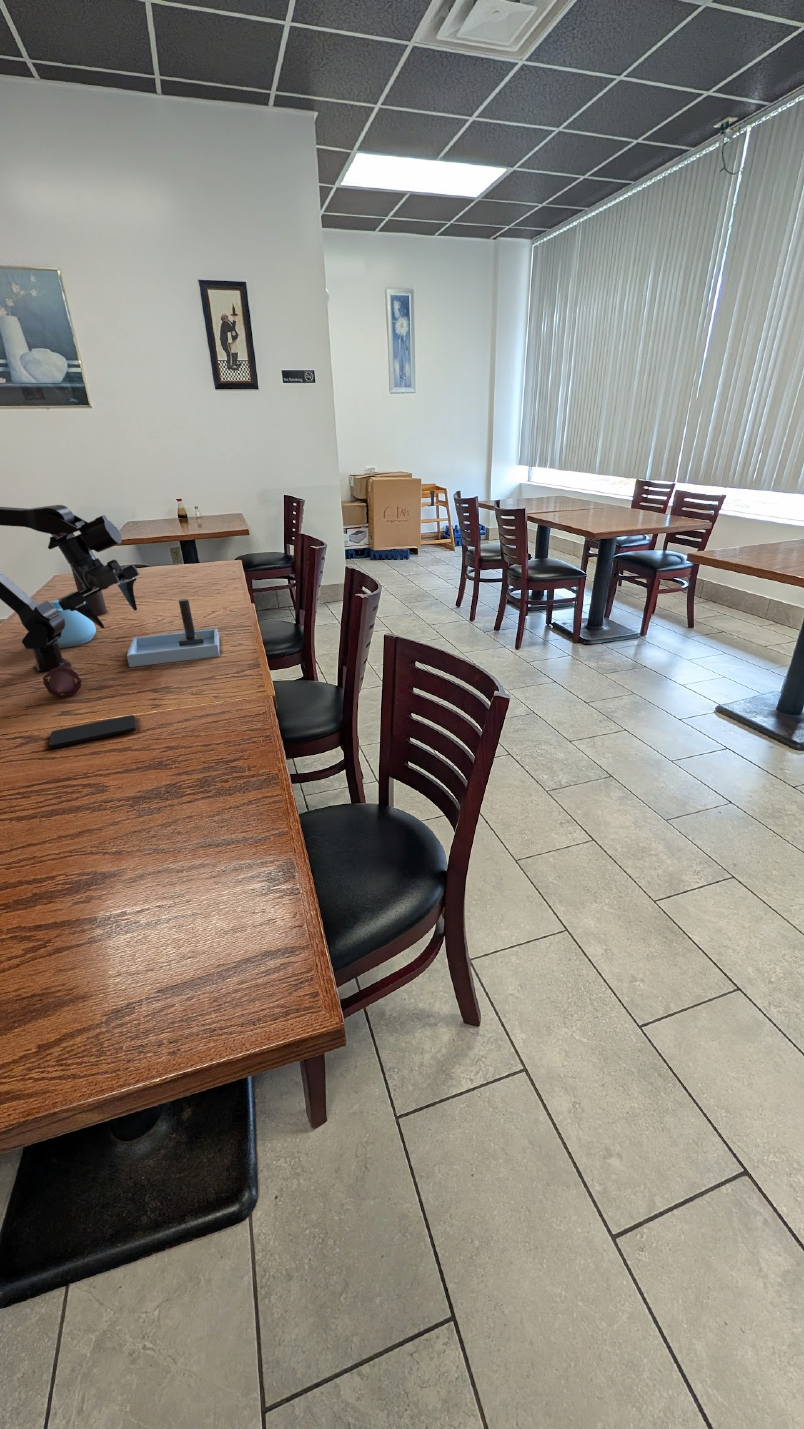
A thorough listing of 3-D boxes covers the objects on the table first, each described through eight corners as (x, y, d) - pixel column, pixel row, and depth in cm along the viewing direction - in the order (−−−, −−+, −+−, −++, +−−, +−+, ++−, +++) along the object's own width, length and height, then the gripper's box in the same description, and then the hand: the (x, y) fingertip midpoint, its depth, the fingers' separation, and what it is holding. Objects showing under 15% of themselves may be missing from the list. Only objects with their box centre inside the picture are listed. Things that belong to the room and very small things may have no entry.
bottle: (79, 616, 189) (61, 553, 180) (93, 610, 195) (76, 549, 186) (98, 616, 188) (81, 553, 179) (111, 610, 194) (95, 549, 185)
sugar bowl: (108, 637, 168) (98, 597, 163) (57, 653, 156) (44, 611, 151) (78, 629, 175) (67, 591, 170) (28, 644, 164) (14, 604, 159)
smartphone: (50, 731, 112) (134, 714, 118) (51, 734, 113) (135, 718, 118) (47, 746, 107) (136, 727, 112) (49, 750, 107) (137, 731, 113)
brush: (180, 652, 152) (170, 603, 146) (181, 647, 156) (171, 599, 150) (204, 649, 153) (195, 600, 148) (205, 644, 157) (196, 596, 152)
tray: (129, 667, 145) (126, 655, 144) (136, 648, 158) (133, 637, 156) (219, 656, 150) (217, 644, 149) (219, 639, 163) (217, 628, 161)
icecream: (77, 677, 123) (86, 659, 136) (36, 673, 120) (50, 656, 133) (76, 708, 124) (86, 688, 138) (36, 706, 122) (49, 686, 135)
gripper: (55, 573, 126) (98, 637, 133) (130, 539, 137) (165, 599, 144) (40, 578, 134) (81, 638, 141) (112, 545, 145) (146, 602, 152)
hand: (119, 619), depth 144 cm, fingers open, 9 cm apart
